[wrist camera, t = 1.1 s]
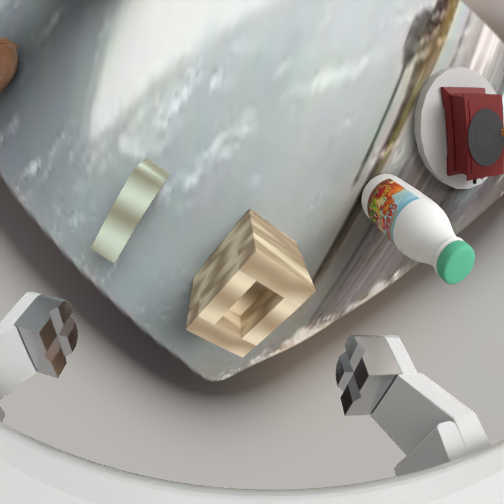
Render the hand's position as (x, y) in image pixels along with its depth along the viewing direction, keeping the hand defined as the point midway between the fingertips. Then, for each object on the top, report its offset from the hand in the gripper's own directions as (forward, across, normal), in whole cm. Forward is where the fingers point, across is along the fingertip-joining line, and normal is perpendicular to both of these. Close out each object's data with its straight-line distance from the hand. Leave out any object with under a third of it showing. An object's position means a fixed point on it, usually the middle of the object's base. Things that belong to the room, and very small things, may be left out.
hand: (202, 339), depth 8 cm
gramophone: (+36, -34, -11) cm, 51 cm away
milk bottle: (+36, -22, +3) cm, 42 cm away
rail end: (+33, +13, +7) cm, 36 cm away
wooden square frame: (+35, -2, +16) cm, 38 cm away
